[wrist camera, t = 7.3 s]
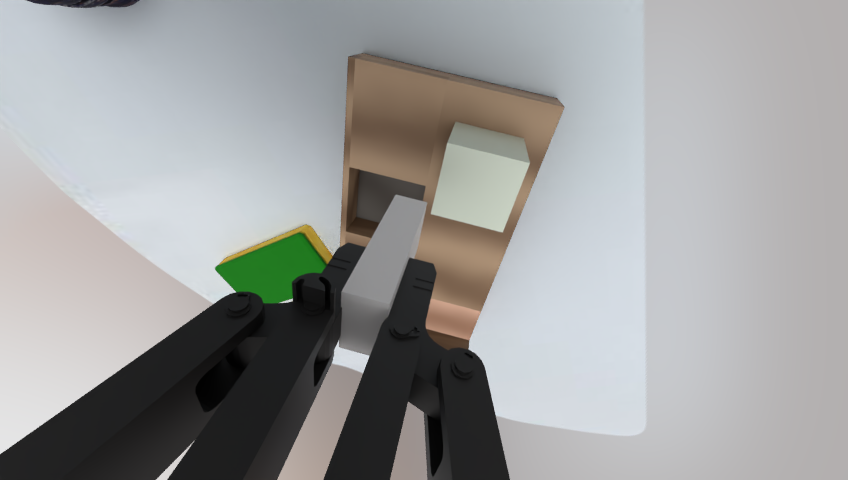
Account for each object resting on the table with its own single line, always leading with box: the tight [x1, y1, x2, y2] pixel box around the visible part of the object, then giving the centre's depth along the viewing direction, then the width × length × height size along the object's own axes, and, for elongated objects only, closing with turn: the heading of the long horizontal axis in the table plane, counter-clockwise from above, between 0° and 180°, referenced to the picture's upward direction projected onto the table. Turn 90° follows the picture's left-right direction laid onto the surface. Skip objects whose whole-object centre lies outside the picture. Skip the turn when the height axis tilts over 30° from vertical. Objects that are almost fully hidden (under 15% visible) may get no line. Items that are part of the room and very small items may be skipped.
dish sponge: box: [215, 225, 333, 303], centre depth 39 cm, size 7×14×2 cm, turn 117°
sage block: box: [431, 122, 530, 233], centre depth 23 cm, size 5×5×5 cm
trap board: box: [340, 53, 564, 350], centre depth 30 cm, size 25×15×5 cm, turn 169°
